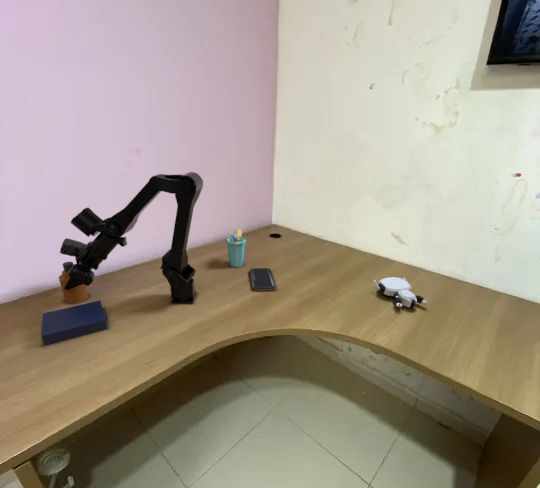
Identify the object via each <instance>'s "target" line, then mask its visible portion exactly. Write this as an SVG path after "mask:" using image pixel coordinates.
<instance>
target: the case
mask: <svg viewBox="0 0 540 488" xmlns="http://www.w3.org/2000/svg"><path fill="white" fill-rule="evenodd" d="M106 320H108V315H107V312H106V307H103V305H102V301H101V300H96V301H92V302H87V303H83V304H78V305H74V306H70V307H65V308H60V309H56V310H52V311H48V312H43V313H42V321H41V339H42V342H43V345H44V346H49V345H51V344H52V345H53V344H55V343H60V342H63V341H67V340H70V339H73V338H78V337H82V336H86V335H88V334H89V335H90V334H92V333H97V332H100V331H104V330H107V329H108V326H107V321H106Z"/></svg>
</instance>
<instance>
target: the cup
mask: <svg viewBox="0 0 540 488" xmlns="http://www.w3.org/2000/svg"><path fill="white" fill-rule="evenodd" d="M242 233H243V231H242V227H237V229H236V230H235V232H234V233H233V236H229V237H227V238H226V240H225V241H226V244H227V252H228V260H229V265H230V266H231V268H242V267H243V265H244V261H245V252H246V251H245V250H246V243H247V239H246V238H245V237H244V236H242V235H243V234H242Z"/></svg>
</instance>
